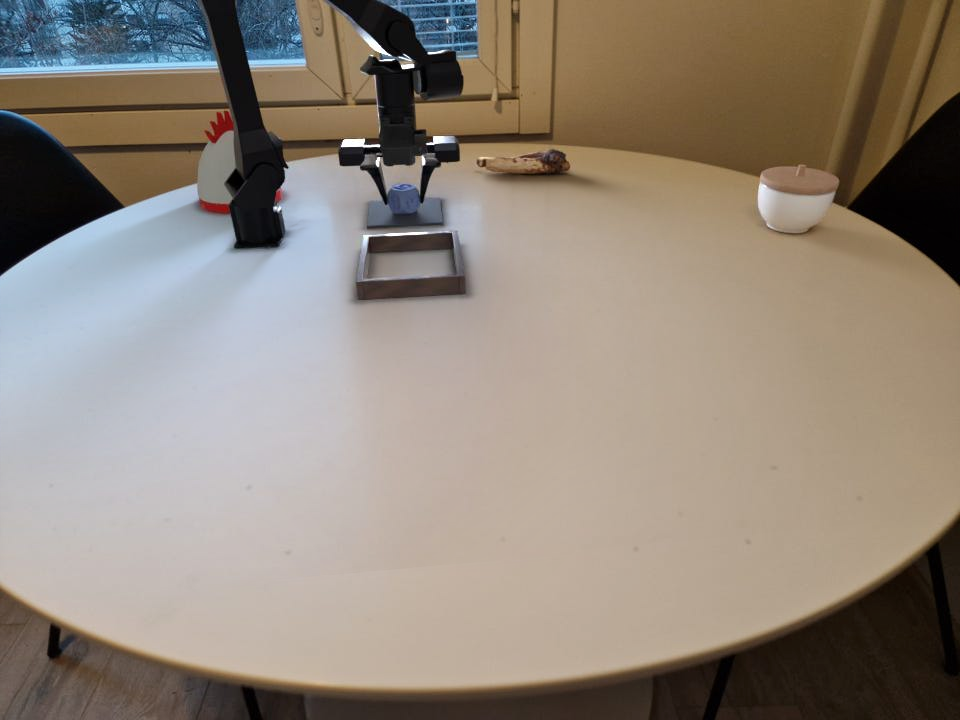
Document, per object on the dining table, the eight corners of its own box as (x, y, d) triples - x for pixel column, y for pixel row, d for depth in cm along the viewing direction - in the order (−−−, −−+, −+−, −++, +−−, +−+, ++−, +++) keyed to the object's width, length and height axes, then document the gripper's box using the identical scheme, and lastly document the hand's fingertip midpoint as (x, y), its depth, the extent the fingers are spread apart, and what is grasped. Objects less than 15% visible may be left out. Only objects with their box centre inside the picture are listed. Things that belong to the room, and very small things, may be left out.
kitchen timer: (298, 195, 117) (283, 107, 109) (237, 218, 107) (215, 124, 99) (246, 183, 123) (228, 100, 115) (183, 204, 113) (159, 115, 105)
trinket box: (748, 234, 98) (762, 172, 93) (752, 210, 106) (764, 152, 101) (826, 243, 94) (845, 179, 89) (824, 218, 103) (840, 158, 98)
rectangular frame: (358, 299, 82) (355, 282, 80) (365, 251, 95) (363, 235, 93) (465, 293, 82) (465, 276, 81) (458, 246, 96) (457, 230, 94)
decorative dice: (387, 211, 107) (385, 187, 105) (405, 205, 110) (403, 181, 108) (403, 216, 105) (401, 192, 103) (421, 210, 108) (420, 186, 105)
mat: (367, 228, 102) (366, 225, 102) (370, 203, 112) (370, 200, 112) (443, 224, 103) (442, 222, 103) (439, 199, 113) (439, 197, 113)
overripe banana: (568, 166, 130) (479, 163, 132) (570, 142, 128) (479, 139, 129) (570, 179, 122) (475, 176, 124) (572, 153, 120) (475, 150, 121)
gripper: (328, 117, 91) (342, 223, 99) (460, 113, 92) (463, 218, 101) (336, 102, 100) (348, 200, 109) (456, 98, 102) (459, 195, 110)
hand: (403, 203), depth 107 cm, fingers closed on decorative dice, 5 cm apart
